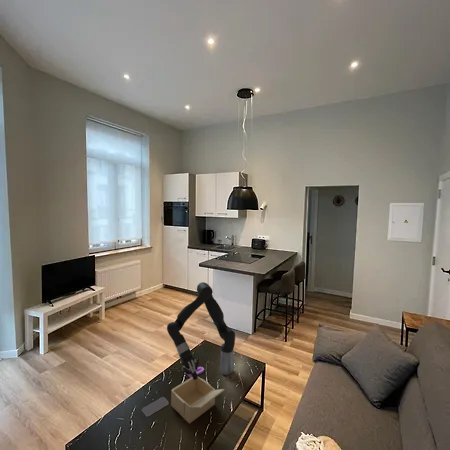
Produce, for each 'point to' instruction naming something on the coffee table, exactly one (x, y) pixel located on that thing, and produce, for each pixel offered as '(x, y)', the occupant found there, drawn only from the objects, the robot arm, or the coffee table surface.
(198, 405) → the flap
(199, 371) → the bracket
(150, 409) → the smartphone
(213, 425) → the coffee table surface
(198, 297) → the robot arm
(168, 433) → the coffee table surface
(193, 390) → the carton
